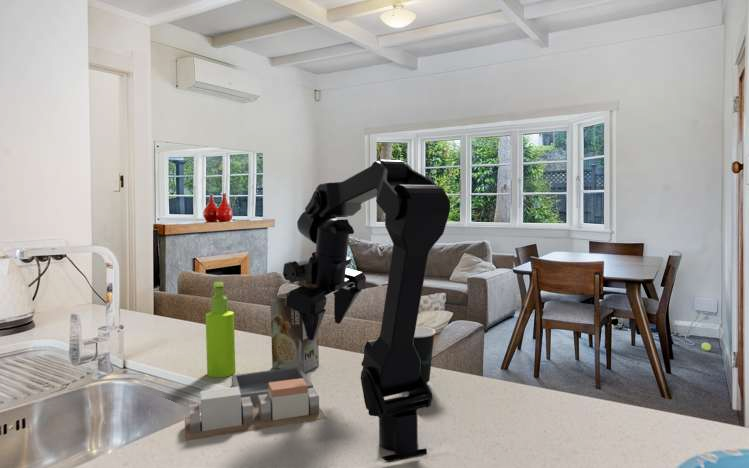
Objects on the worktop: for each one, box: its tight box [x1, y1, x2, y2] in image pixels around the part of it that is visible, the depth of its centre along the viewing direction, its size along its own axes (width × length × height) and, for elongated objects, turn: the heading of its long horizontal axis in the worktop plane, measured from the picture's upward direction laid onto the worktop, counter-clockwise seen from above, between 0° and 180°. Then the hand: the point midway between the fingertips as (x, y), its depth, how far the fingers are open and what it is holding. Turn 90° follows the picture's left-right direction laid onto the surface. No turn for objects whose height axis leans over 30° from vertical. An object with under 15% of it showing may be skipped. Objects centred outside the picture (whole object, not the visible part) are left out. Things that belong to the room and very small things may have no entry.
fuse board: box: [184, 387, 328, 442], centre depth 86 cm, size 9×22×4 cm, turn 110°
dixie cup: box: [413, 325, 436, 386], centre depth 104 cm, size 8×8×11 cm
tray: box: [231, 367, 314, 406], centre depth 99 cm, size 12×14×3 cm
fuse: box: [200, 386, 242, 431], centre depth 84 cm, size 4×6×5 cm, turn 110°
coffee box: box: [269, 292, 320, 373], centre depth 116 cm, size 9×6×16 cm
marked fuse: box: [268, 378, 309, 420], centre depth 88 cm, size 4×6×5 cm, turn 110°
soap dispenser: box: [205, 281, 236, 379], centre depth 112 cm, size 6×7×20 cm
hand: (324, 330), depth 98 cm, fingers open, 9 cm apart
